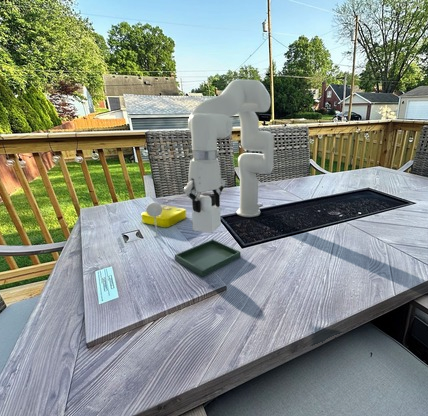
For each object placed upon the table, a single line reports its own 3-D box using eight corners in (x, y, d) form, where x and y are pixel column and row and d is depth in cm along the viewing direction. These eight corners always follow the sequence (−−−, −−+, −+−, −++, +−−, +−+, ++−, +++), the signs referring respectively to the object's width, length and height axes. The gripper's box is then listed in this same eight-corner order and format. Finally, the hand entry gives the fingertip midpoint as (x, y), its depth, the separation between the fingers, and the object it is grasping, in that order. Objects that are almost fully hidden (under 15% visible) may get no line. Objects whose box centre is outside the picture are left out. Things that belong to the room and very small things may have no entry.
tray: (213, 243, 105) (213, 238, 104) (240, 256, 96) (240, 251, 95) (175, 260, 92) (174, 254, 91) (202, 277, 83) (202, 271, 82)
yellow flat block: (140, 222, 121) (139, 212, 119) (163, 212, 134) (162, 203, 132) (166, 228, 116) (165, 218, 114) (187, 217, 129) (187, 208, 128)
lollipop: (168, 235, 110) (165, 201, 105) (158, 241, 104) (154, 205, 99) (156, 232, 112) (152, 199, 107) (145, 238, 106) (141, 203, 101)
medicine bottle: (202, 222, 94) (200, 190, 90) (220, 225, 93) (220, 192, 89) (192, 230, 88) (190, 196, 84) (212, 233, 86) (211, 198, 82)
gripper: (218, 152, 91) (219, 200, 97) (173, 156, 77) (177, 212, 83) (233, 154, 86) (233, 205, 92) (188, 159, 73) (191, 218, 79)
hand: (206, 208), depth 88 cm, fingers closed on medicine bottle, 7 cm apart
